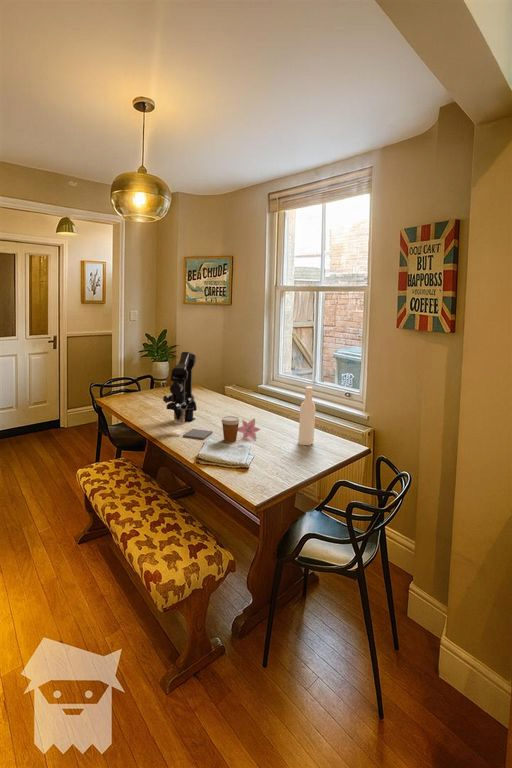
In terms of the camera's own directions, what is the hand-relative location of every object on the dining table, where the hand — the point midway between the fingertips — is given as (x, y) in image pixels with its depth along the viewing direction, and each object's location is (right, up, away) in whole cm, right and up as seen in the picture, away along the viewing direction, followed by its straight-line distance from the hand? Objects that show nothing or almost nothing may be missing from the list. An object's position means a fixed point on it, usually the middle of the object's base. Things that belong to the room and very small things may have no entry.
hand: (179, 418), depth 229 cm
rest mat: (+10, -9, -1) cm, 13 cm away
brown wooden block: (0, -3, +1) cm, 2 cm away
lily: (+37, -10, -3) cm, 39 cm away
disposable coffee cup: (+28, -11, -8) cm, 31 cm away
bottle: (+67, -12, -8) cm, 69 cm away
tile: (0, -7, +4) cm, 8 cm away
